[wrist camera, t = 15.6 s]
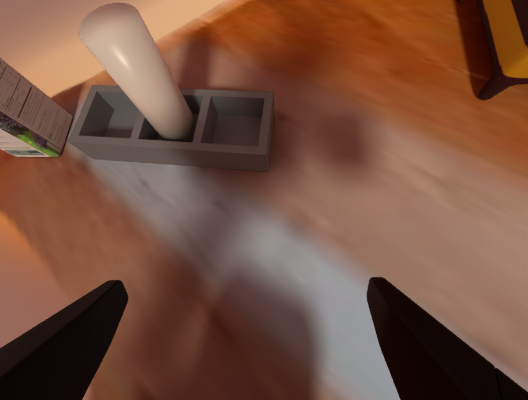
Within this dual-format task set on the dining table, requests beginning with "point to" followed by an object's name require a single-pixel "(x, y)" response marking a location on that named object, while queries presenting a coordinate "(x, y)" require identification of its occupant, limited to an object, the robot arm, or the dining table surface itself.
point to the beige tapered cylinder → (138, 68)
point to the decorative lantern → (505, 43)
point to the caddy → (171, 152)
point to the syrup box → (29, 118)
